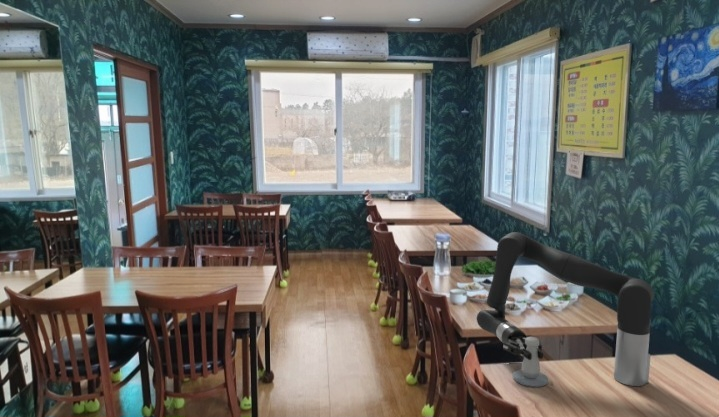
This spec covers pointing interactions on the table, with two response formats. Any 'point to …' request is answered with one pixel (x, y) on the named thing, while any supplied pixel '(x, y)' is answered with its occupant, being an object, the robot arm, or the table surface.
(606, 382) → the table surface
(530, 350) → the salt shaker
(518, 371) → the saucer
